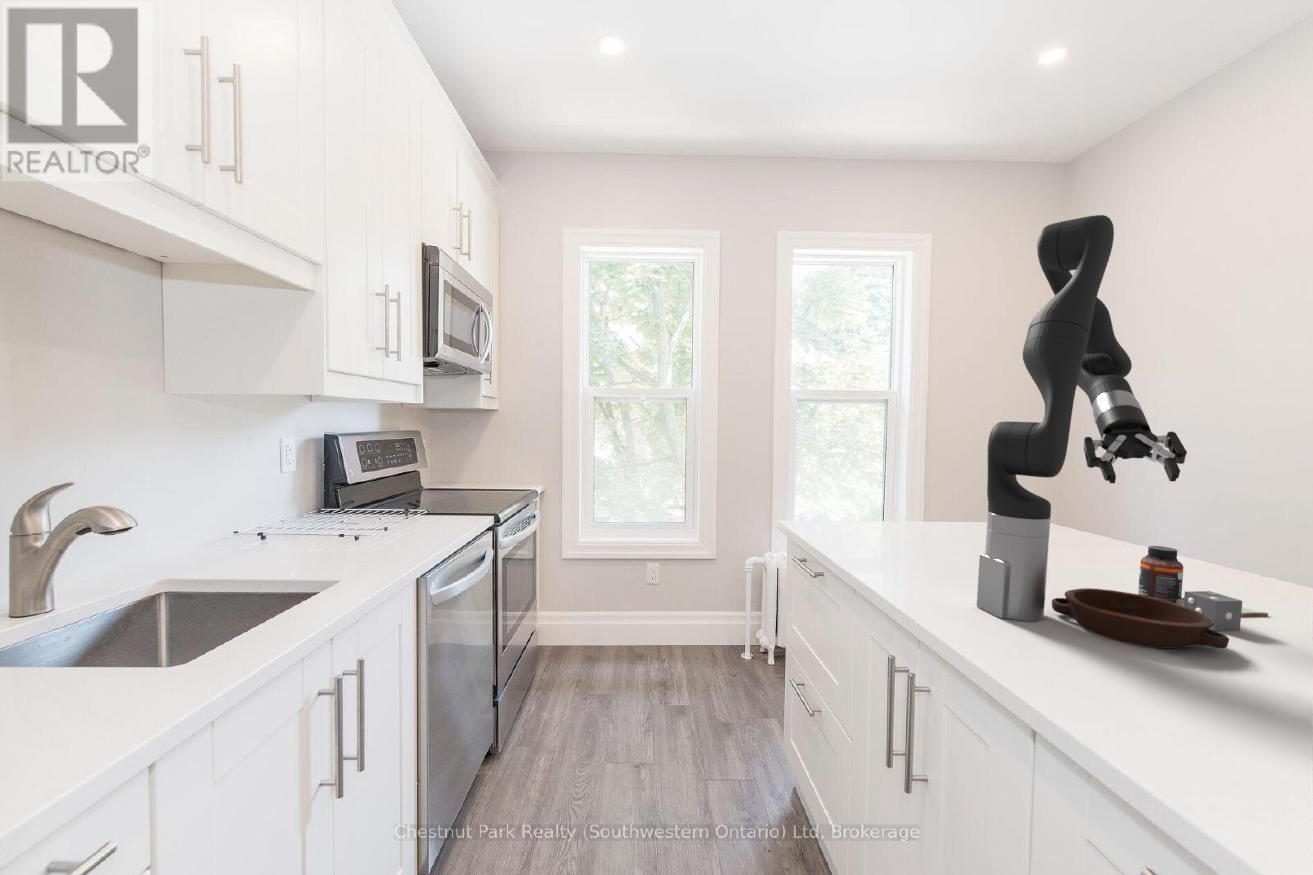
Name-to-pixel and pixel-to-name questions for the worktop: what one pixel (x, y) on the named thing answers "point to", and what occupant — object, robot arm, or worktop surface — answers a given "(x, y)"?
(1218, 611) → the die
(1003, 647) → the worktop surface
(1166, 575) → the supplement bottle
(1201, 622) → the dish
